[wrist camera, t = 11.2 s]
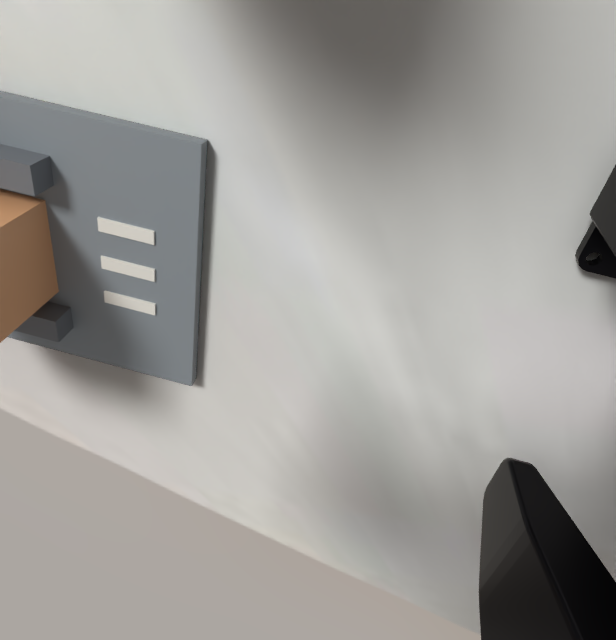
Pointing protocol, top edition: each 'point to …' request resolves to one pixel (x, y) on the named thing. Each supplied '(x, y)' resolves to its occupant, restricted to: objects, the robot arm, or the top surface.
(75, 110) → the flat gray board
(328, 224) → the top surface
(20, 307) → the block
